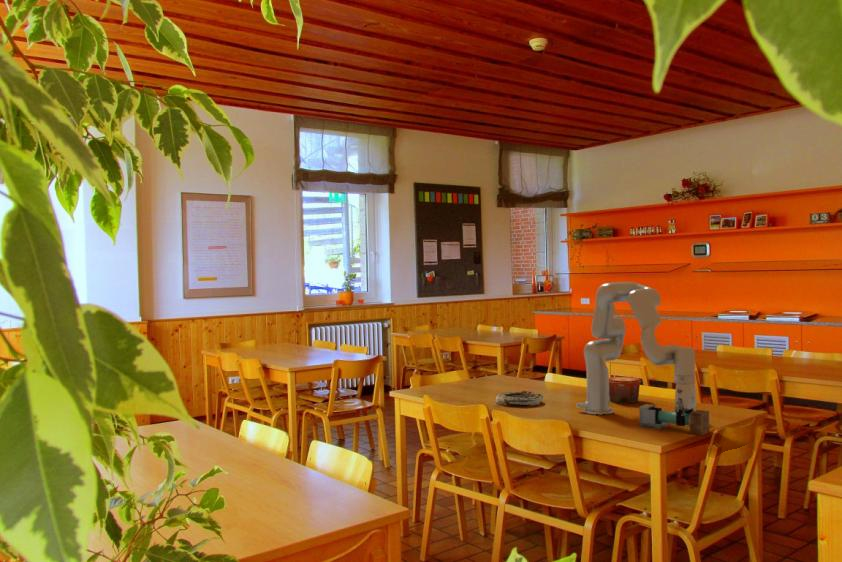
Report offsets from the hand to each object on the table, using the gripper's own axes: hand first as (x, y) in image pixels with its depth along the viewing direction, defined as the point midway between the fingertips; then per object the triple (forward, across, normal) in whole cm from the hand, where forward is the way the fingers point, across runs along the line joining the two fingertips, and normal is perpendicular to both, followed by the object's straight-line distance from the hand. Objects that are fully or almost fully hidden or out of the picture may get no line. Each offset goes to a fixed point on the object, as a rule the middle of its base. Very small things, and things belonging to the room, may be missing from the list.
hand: (685, 423), depth 276 cm
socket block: (+3, 0, -6) cm, 6 cm away
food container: (+3, +43, +46) cm, 62 cm away
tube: (+2, 0, +2) cm, 3 cm away
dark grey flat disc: (+4, +12, +83) cm, 84 cm away
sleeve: (+3, 0, +13) cm, 13 cm away
